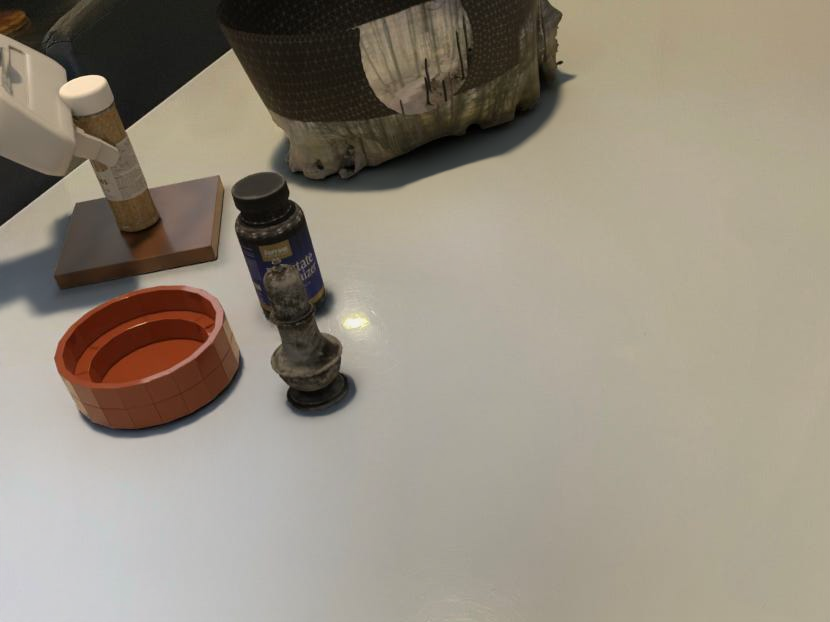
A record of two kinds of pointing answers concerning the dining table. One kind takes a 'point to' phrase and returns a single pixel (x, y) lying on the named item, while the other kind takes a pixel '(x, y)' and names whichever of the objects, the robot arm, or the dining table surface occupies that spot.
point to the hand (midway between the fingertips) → (114, 146)
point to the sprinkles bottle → (126, 178)
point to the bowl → (148, 356)
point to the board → (142, 235)
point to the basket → (388, 71)
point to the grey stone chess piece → (302, 343)
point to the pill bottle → (274, 234)
